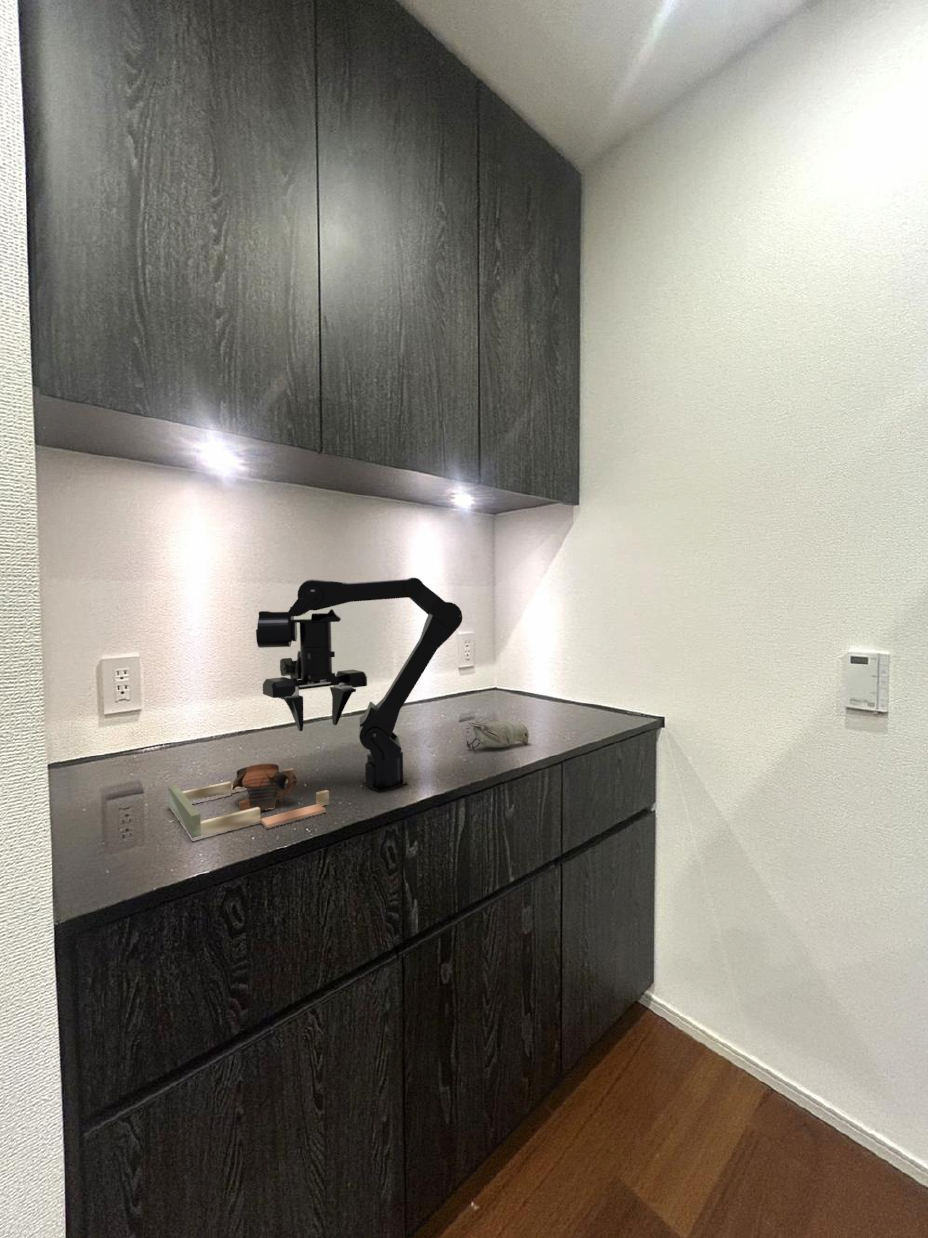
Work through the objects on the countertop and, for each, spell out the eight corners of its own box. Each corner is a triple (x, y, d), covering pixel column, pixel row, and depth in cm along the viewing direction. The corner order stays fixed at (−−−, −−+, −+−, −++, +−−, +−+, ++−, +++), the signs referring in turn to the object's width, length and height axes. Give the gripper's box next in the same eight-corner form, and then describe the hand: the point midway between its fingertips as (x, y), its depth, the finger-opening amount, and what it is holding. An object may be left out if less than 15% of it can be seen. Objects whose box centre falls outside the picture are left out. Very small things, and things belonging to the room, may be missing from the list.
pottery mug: (221, 819, 92) (220, 770, 96) (250, 822, 101) (248, 778, 104) (288, 802, 91) (285, 753, 95) (312, 806, 100) (308, 762, 103)
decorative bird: (533, 747, 132) (533, 717, 131) (472, 756, 125) (472, 724, 125) (522, 742, 137) (521, 713, 136) (463, 750, 130) (462, 719, 130)
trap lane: (286, 776, 112) (286, 757, 112) (336, 810, 94) (336, 787, 94) (165, 803, 98) (165, 781, 98) (197, 849, 80) (196, 822, 80)
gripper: (341, 640, 115) (343, 713, 116) (251, 646, 103) (253, 728, 104) (367, 643, 106) (369, 722, 107) (272, 651, 95) (275, 739, 95)
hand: (318, 727), depth 104 cm, fingers open, 7 cm apart
